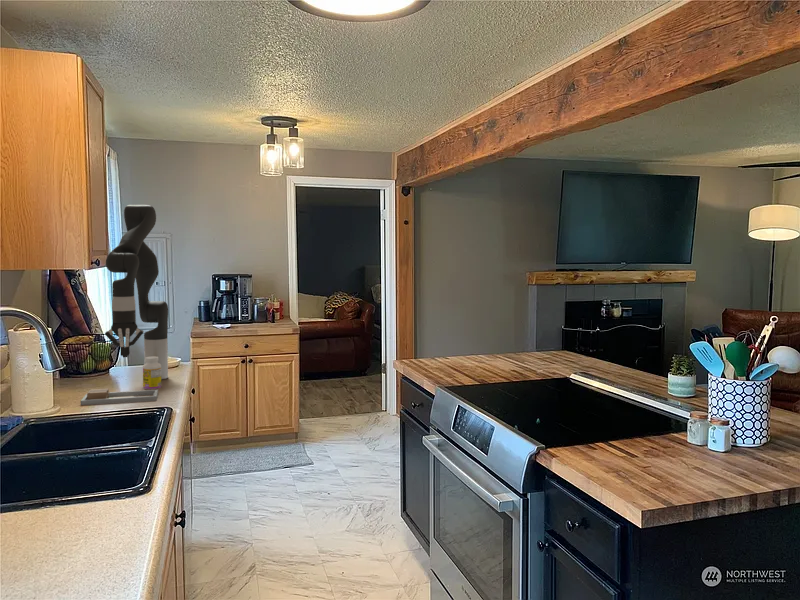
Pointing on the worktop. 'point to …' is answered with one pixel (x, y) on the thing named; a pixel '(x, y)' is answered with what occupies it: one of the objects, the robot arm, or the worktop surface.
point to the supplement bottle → (151, 373)
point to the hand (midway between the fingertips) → (125, 356)
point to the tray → (123, 397)
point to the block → (98, 394)
